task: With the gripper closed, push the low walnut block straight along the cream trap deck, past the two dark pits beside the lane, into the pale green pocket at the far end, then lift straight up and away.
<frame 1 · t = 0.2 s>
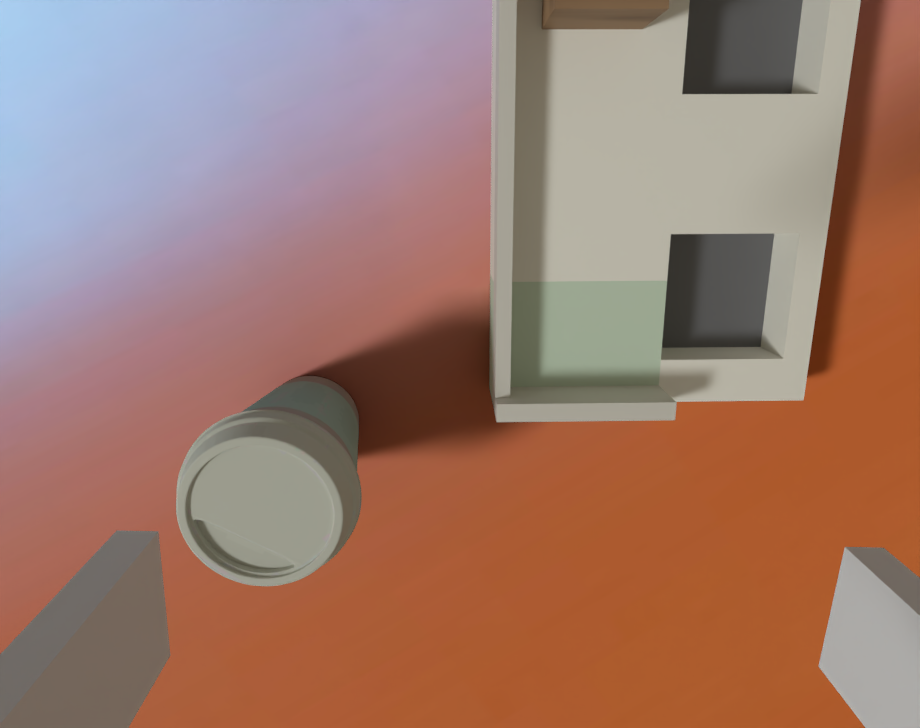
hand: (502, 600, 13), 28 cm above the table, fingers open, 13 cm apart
deck: (649, 167, 37), on the table
coffee cup: (313, 419, 41), on the table
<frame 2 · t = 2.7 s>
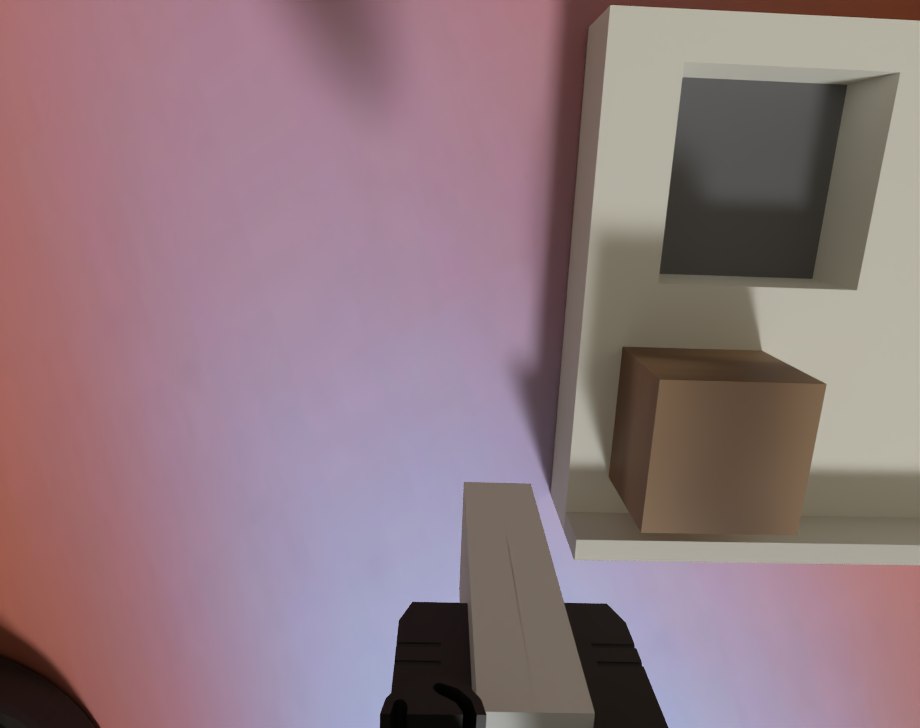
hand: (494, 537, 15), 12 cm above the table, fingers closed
deck: (893, 293, 26), on the table
block: (683, 415, 24), point 3 cm above the table, touching deck
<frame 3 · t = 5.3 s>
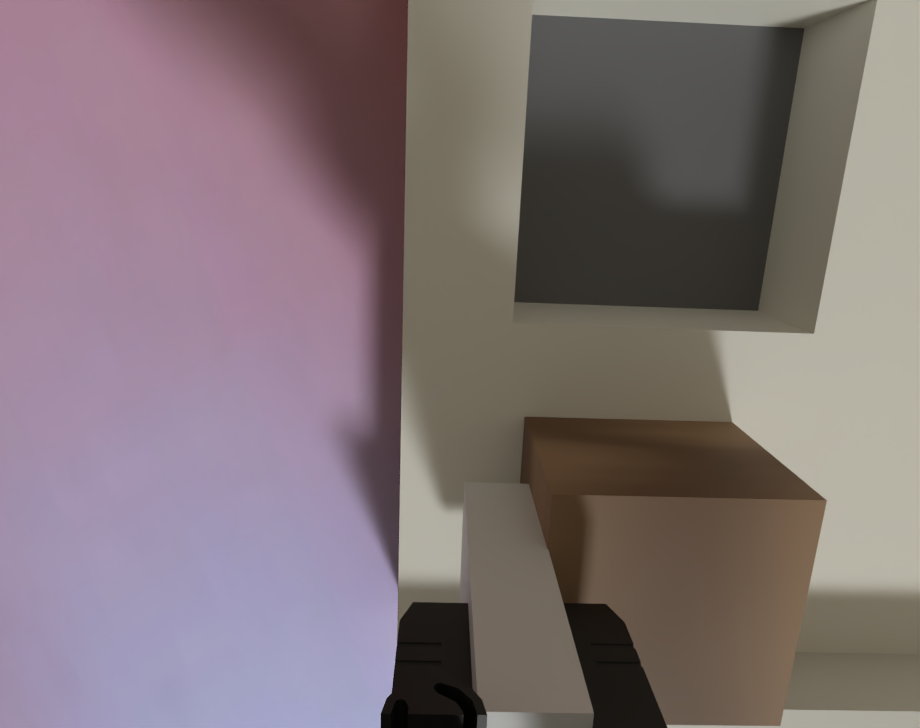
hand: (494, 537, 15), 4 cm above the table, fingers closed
deck: (874, 331, 18), on the table
block: (618, 514, 16), point 3 cm above the table, touching gripper
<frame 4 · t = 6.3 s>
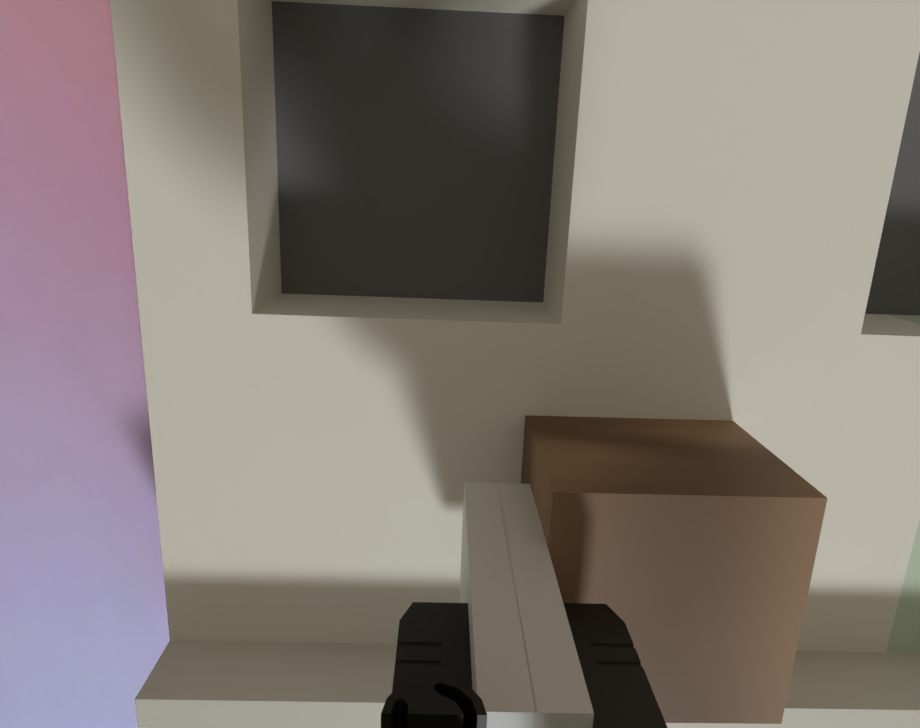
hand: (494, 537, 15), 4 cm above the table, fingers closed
deck: (666, 323, 18), on the table
block: (619, 512, 16), point 3 cm above the table, touching deck, gripper
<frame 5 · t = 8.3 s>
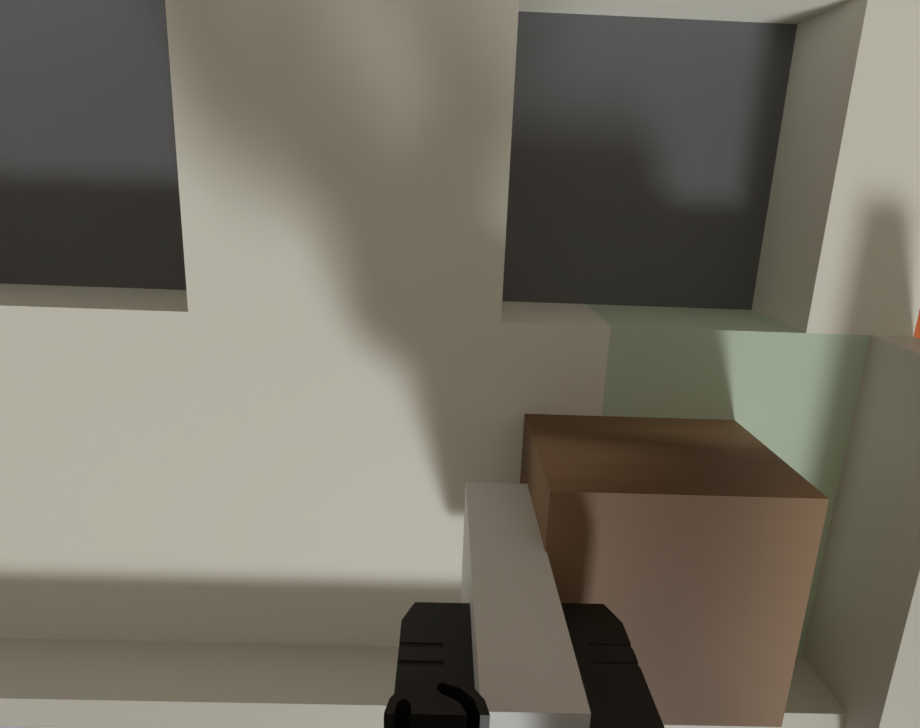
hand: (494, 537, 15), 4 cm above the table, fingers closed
deck: (362, 313, 18), on the table
block: (619, 512, 16), point 3 cm above the table, touching deck, gripper
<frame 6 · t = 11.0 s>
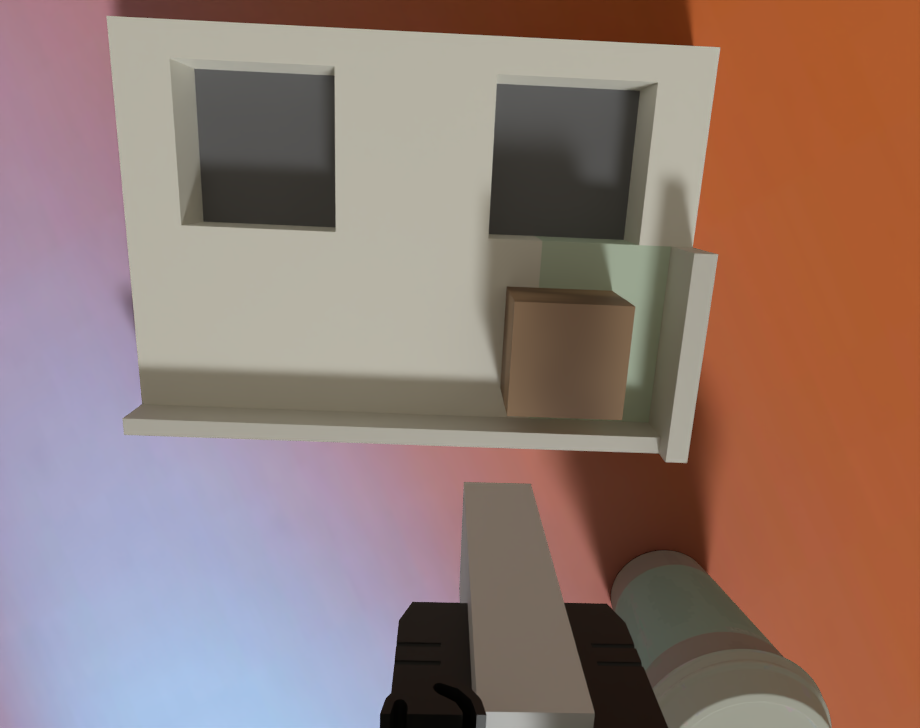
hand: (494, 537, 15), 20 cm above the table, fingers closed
deck: (415, 240, 33), on the table
coffee cup: (658, 590, 39), on the table
block: (555, 340, 31), point 3 cm above the table, touching deck
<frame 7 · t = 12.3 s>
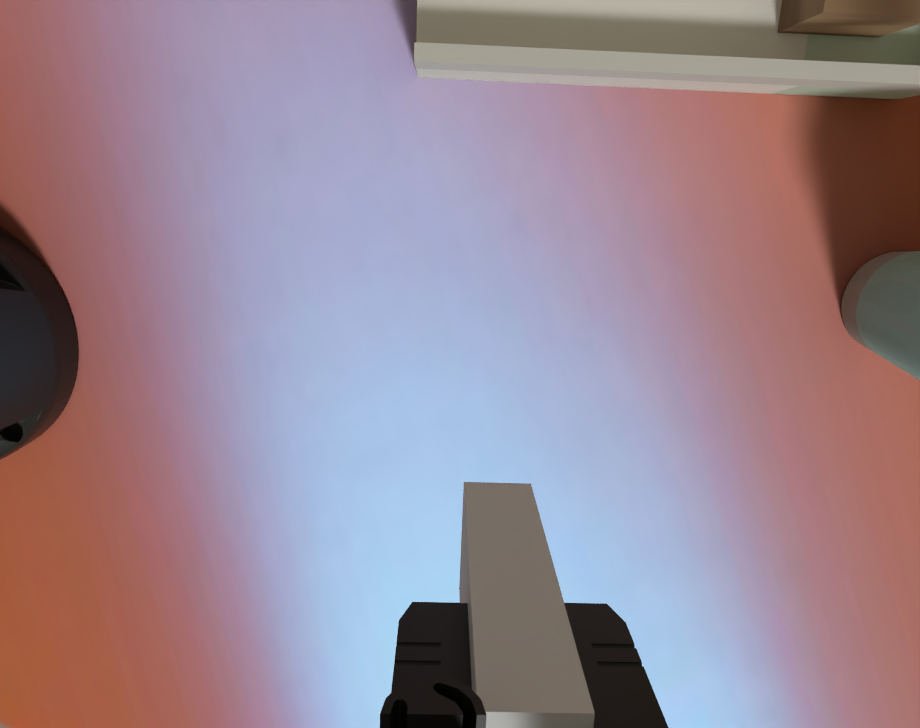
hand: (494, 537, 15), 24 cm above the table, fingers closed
coffee cup: (887, 300, 39), on the table
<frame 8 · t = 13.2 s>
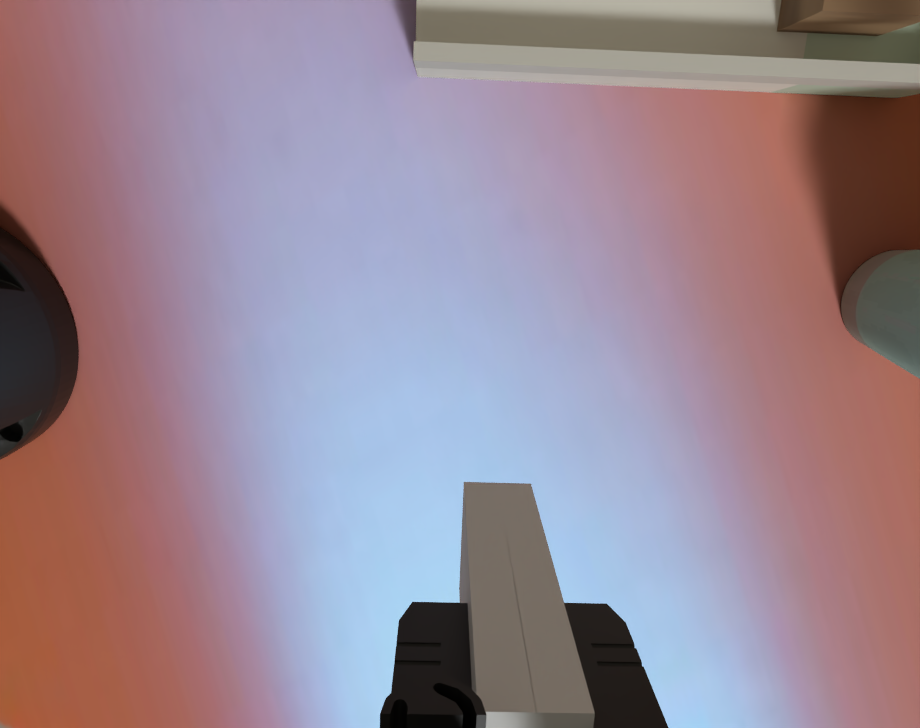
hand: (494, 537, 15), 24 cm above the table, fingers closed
coffee cup: (887, 298, 39), on the table
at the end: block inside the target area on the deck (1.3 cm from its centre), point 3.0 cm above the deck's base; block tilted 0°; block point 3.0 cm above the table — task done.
